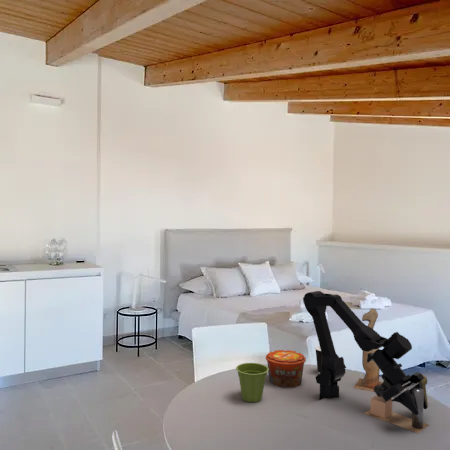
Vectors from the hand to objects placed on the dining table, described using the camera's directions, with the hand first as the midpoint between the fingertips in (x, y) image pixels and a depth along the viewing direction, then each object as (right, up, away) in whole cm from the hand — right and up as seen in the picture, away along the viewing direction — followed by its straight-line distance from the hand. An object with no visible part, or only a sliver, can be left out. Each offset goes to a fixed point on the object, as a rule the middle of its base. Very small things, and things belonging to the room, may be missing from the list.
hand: (422, 411), depth 137 cm
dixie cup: (-19, -6, +51) cm, 54 cm away
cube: (-9, -5, +10) cm, 14 cm away
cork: (+8, -6, +20) cm, 22 cm away
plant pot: (-51, -6, +25) cm, 57 cm away
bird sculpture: (-4, -6, +34) cm, 35 cm away
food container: (-36, -6, +42) cm, 56 cm away
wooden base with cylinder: (-6, -6, +6) cm, 11 cm away
